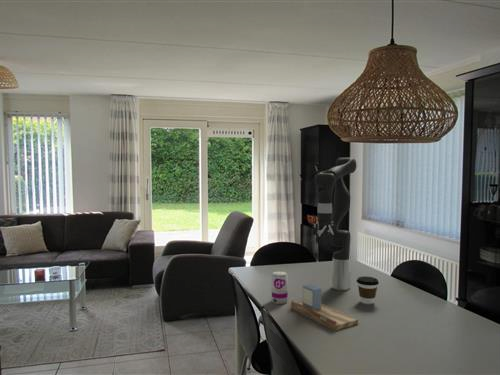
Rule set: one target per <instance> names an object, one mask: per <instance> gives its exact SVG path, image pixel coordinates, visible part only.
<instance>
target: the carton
mask: <svg viewBox="0 0 500 375" xmlns="http://www.w3.org/2000/svg"><path fill="white" fill-rule="evenodd" d="M302 302H303V306H305V307H307V308H309V309H312V310H314V311H316V310H320V309H321V303H322V288H321V287H319V286H316V285H313V284H312V283H308V284H304V285H303V284H302Z"/></svg>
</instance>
